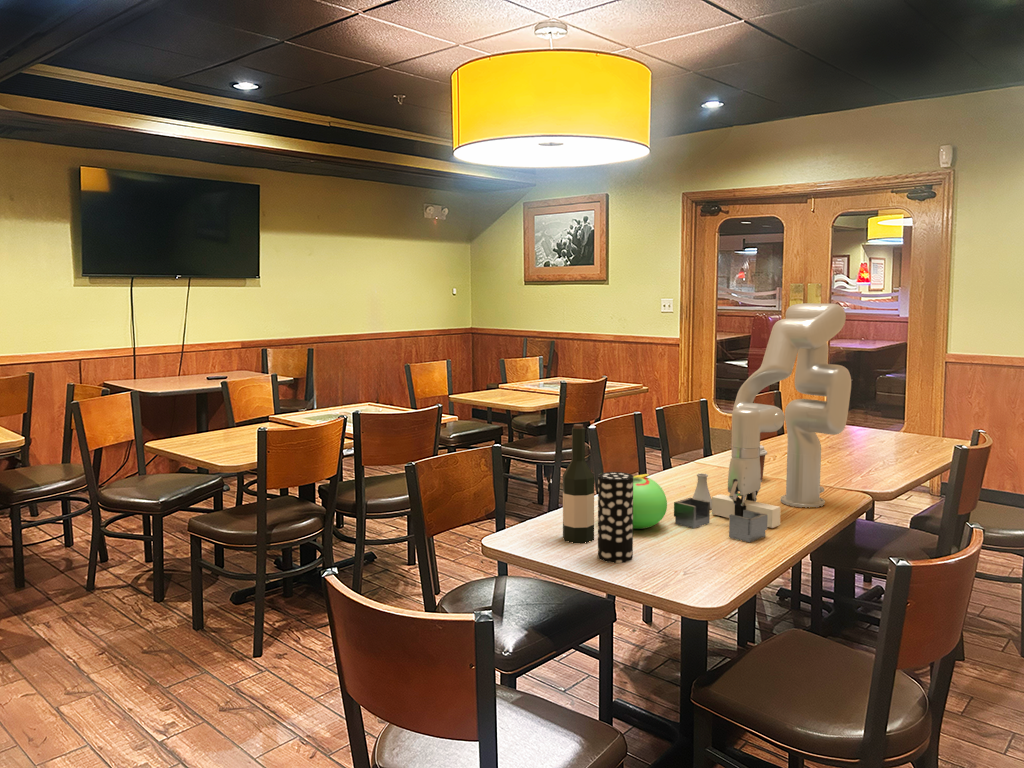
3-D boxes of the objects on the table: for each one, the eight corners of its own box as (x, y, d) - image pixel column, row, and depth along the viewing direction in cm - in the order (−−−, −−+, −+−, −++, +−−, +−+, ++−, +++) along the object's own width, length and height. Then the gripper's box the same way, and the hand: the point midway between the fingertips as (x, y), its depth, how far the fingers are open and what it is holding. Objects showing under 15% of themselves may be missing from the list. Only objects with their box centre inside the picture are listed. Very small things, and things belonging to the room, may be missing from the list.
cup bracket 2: (744, 531, 206) (745, 509, 205) (766, 537, 201) (767, 514, 200) (728, 537, 201) (729, 515, 200) (751, 543, 196) (751, 520, 195)
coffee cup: (739, 476, 269) (740, 442, 268) (767, 478, 266) (768, 444, 265) (737, 482, 261) (738, 447, 259) (765, 484, 257) (766, 449, 256)
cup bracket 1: (689, 518, 219) (690, 497, 218) (709, 523, 214) (709, 501, 213) (673, 523, 214) (674, 502, 213) (693, 528, 209) (693, 506, 208)
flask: (714, 511, 226) (715, 477, 225) (689, 510, 228) (690, 476, 226) (713, 504, 233) (714, 472, 232) (689, 503, 235) (689, 471, 234)
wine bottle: (597, 535, 204) (598, 423, 200) (590, 545, 196) (590, 428, 192) (567, 532, 206) (566, 421, 203) (558, 542, 198) (558, 426, 195)
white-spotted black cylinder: (594, 552, 190) (595, 472, 188) (628, 551, 191) (628, 471, 189) (601, 563, 182) (601, 480, 180) (636, 562, 183) (637, 479, 181)
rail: (719, 510, 224) (720, 494, 224) (780, 524, 210) (780, 506, 209) (711, 513, 222) (711, 496, 221) (772, 528, 207) (772, 509, 207)
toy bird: (676, 534, 204) (676, 480, 202) (614, 538, 201) (614, 483, 200) (652, 516, 222) (653, 465, 220) (595, 519, 219) (595, 468, 217)
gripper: (750, 446, 222) (749, 508, 224) (716, 455, 211) (716, 520, 213) (774, 449, 216) (773, 513, 218) (740, 459, 205) (740, 526, 207)
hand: (744, 516), depth 216 cm, fingers closed on rail, 4 cm apart
